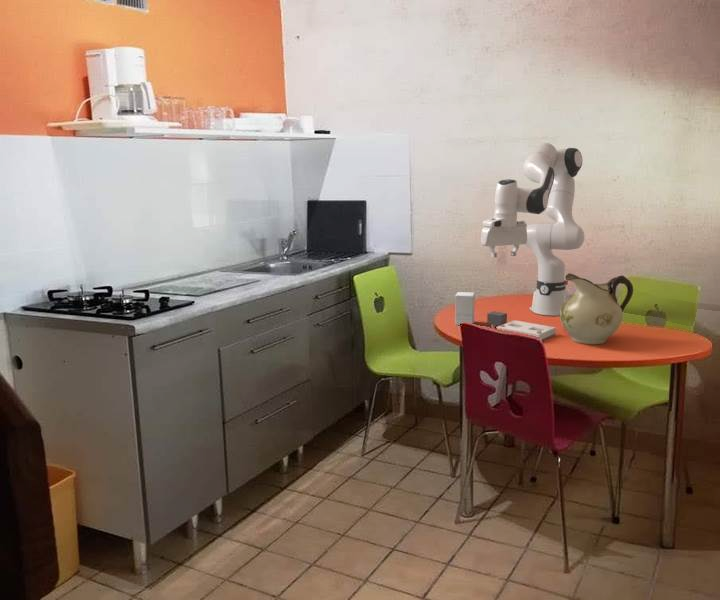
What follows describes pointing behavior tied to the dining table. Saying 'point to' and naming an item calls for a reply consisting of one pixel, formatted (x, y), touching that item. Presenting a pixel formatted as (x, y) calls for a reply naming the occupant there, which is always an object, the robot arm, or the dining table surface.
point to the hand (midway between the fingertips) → (503, 256)
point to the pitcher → (593, 309)
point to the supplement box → (464, 307)
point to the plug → (496, 318)
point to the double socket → (529, 329)
